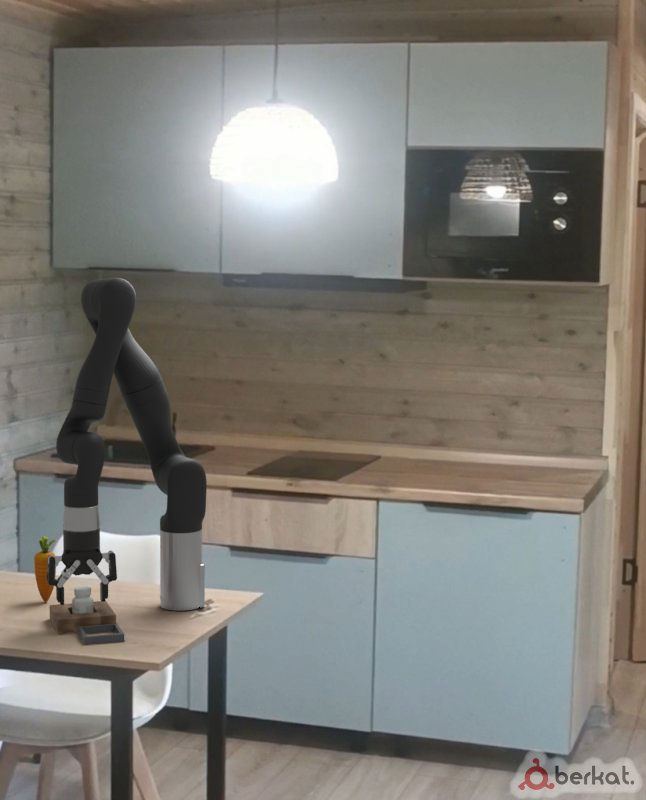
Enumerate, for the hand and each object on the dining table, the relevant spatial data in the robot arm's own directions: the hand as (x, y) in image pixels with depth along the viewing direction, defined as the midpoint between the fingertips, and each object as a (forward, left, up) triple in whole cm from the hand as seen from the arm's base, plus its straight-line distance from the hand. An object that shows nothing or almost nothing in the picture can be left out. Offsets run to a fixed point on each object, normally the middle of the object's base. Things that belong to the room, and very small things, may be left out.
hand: (82, 602), depth 278 cm
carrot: (+5, -20, -5) cm, 21 cm away
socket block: (0, 0, -5) cm, 5 cm away
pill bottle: (0, 0, -5) cm, 5 cm away
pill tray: (-2, +11, -5) cm, 12 cm away
